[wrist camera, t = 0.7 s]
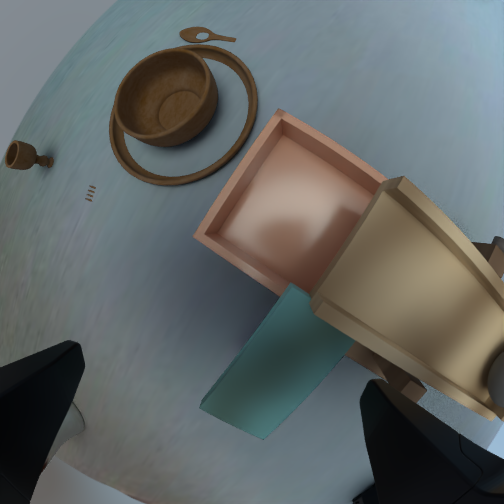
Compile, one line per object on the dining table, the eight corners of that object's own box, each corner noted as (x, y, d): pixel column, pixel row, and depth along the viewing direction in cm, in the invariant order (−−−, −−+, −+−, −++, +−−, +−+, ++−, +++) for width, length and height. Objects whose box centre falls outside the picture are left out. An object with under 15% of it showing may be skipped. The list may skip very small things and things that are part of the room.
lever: (525, 335, 12) (551, 350, 9) (407, 475, 14) (419, 502, 11) (366, 167, 12) (395, 155, 9) (202, 399, 14) (189, 438, 11)
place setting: (210, 249, 20) (180, 257, 15) (41, 179, 22) (-1, 173, 17) (291, 47, 18) (289, 1, 12) (109, 31, 20) (80, 4, 14)
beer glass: (40, 378, 24) (-45, 429, 9) (79, 397, 23) (-12, 467, 8) (54, 422, 25) (-16, 477, 10) (93, 442, 24) (23, 513, 9)
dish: (386, 198, 18) (405, 193, 14) (315, 307, 19) (319, 323, 16) (280, 127, 18) (278, 108, 15) (209, 235, 20) (192, 236, 16)
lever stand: (481, 260, 17) (536, 271, 10) (398, 384, 19) (428, 433, 12) (426, 206, 17) (478, 198, 11) (334, 344, 19) (350, 393, 12)
